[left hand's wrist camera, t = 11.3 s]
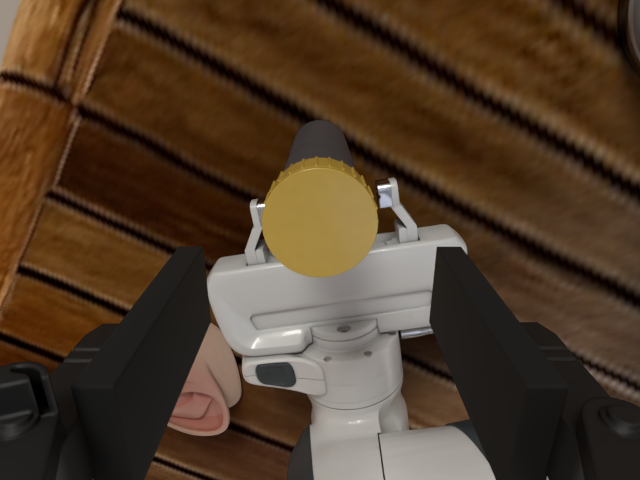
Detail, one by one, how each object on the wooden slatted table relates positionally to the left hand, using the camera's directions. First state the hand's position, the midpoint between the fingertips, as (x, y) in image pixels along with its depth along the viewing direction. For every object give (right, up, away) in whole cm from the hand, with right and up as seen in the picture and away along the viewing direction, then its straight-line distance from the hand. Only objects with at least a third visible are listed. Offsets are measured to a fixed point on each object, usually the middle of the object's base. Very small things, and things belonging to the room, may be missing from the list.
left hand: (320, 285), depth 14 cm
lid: (0, +2, +6) cm, 6 cm away
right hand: (0, +5, +19) cm, 20 cm away
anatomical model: (-14, -11, +32) cm, 37 cm away
